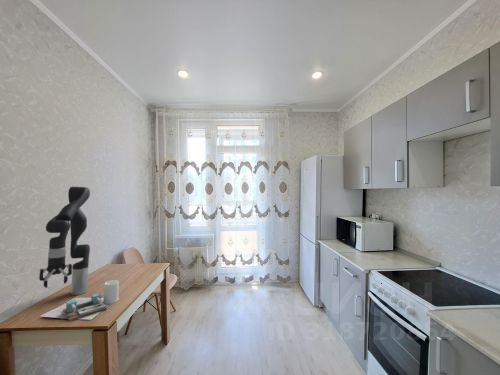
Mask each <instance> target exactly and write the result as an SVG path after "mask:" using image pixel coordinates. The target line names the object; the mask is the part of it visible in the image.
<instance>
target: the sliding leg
mask: <svg viewBox="0 0 500 375" xmlns="http://www.w3.org/2000/svg"><path fill="white" fill-rule="evenodd" d="M77 303H78V301H77V299H71V300H67V301H66V304H65V306H66V307H65V309H66V311H67V308H68V313H69V312H72V311H73V313H75V311H76V310H77V305H78V304H77Z"/></svg>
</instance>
